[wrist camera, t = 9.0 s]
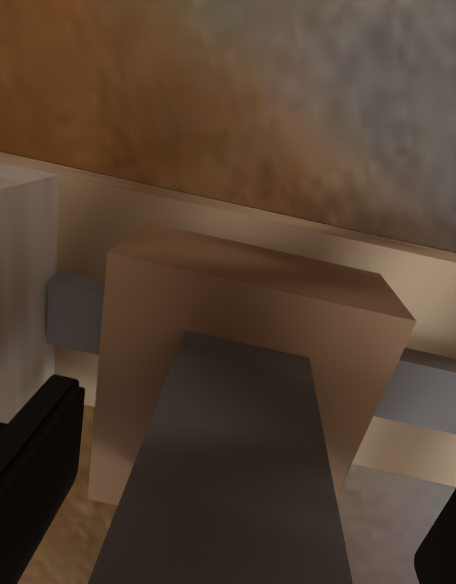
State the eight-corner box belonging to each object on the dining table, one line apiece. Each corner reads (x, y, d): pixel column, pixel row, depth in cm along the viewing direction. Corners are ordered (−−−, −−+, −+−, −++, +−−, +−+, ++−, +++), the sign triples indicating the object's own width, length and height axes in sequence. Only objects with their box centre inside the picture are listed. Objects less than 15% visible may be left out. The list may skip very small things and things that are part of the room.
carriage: (379, 273, 11) (683, 666, 3) (303, 469, 15) (354, 915, 6) (145, 221, 11) (-170, 478, 3) (120, 428, 15) (-66, 823, 6)
